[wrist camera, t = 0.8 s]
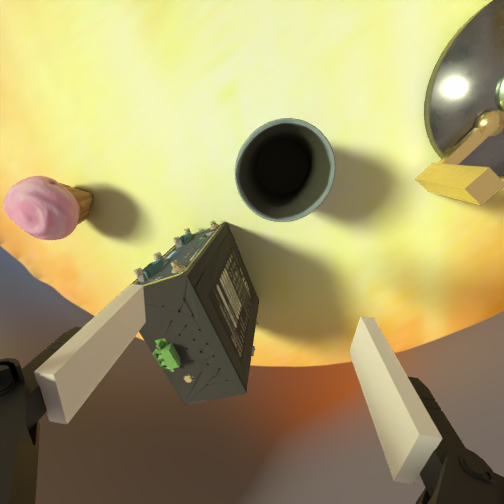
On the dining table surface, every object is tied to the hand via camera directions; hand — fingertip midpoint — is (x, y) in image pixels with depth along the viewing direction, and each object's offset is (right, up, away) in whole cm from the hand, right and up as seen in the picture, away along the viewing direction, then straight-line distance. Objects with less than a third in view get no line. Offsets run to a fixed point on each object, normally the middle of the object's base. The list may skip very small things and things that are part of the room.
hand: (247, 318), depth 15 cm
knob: (+26, +17, +17) cm, 36 cm away
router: (-5, +1, +29) cm, 29 cm away
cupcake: (-28, +13, +26) cm, 41 cm away
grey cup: (+5, +16, +22) cm, 27 cm away
